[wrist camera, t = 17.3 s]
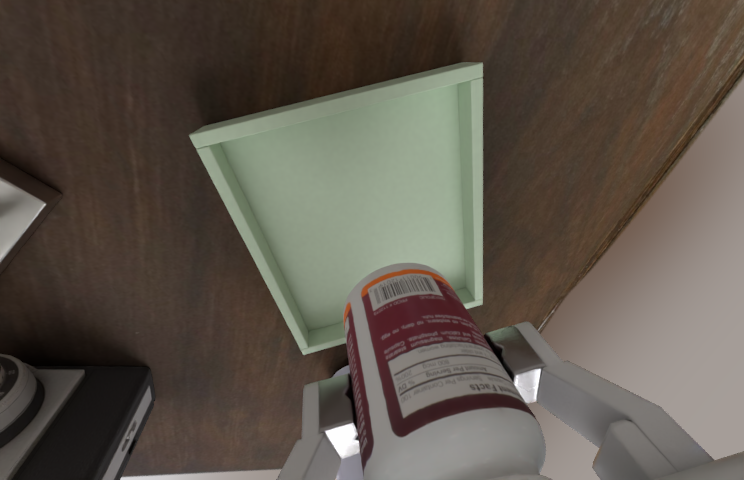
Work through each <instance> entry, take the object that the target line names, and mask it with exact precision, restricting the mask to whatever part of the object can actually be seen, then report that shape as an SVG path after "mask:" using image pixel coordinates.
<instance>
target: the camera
mask: <svg viewBox="0 0 744 480" xmlns="http://www.w3.org/2000/svg"><path fill="white" fill-rule="evenodd" d="M153 401H155V392H154V386H153V380H152V375H151V371H150V369H149V368H147V367H102V366H30V365H28V364H26V363H22V362H21V361H20V360H19V359H17V358H15V357H13V356H11V355H4V354H0V480H120V478H121V476H122V474H123V472H124V470H125V467H126V465H127V463H128V461H129V459H130V457H131V454H132V452H133V450H134V448H135V446H136V443H137V441H138V439H139V437H140V435H141V433H142V430H143V428H144V426H145V424H146V422H147V420H148V417H149V415H150V413H151V411H152V409H153V406H154V402H153Z"/></svg>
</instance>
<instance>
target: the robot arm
mask: <svg viewBox="0 0 744 480" xmlns="http://www.w3.org/2000/svg"><path fill="white" fill-rule="evenodd" d="M484 338H485V340H486V341H487V343H488V345H489V346H490V347H491V349H492V351H493V352H494V354H495V355H496V357H497V358H498V360H499V361H500V363H501V365H502V366H503V368H504V369H505V371H506V372H507V374H508V376H509V377H510V379H511V380H512V382H513V383H514V385H515V387H516V388H517V390H518V391H519V393H520V394H521V396H522V398H523V399H524V401H525V402H526V404H528V403H531V402H535V401H537V403H538V404H539V405H541V406H542V407H544V408H545V409H546V410H548V411H549V412H550V413H552V414H553V415H554V416H556V417H557V418H559V419H560V420H561V421H563V422H564V423H565V424H567V425H568V426H570V427H571V428H572V429H574V430H575V431H577V432H578V433H579V434H581V435H582V436H583V437H585V438H586V439H587V440H589V441H590V442H592V443H593V444H594V445H596V446H597V447H599V451H598V453H597V455H596V457H595V459H594V461H593V467H592V468H593V469H594V471H595V472H596V474H597V475H598V477H599V478H600V480H744V451H743V452H740V453H737V454H734V455H731V456H727V457H724V458H721V459H718V460H714V459H713V458H712V457H711V456H710V455H709V454H708V453H707V452H706V451H705V450H704V449H703V448H702V447H701V446H699V444H698V443H697V442H696V441H694V440H693V438H691V436H690V435H689V434H687V433H686V432H685V431H684V430H683V429H682V428H681V427H680V426H679V425H678V424H677V423H676V422H675V421H674V420H673V419H672V418H671V417H670V416H669V415H668V414H667V413H666V412H665V411H664V410H663V409H662V408H661V407H660V406H658V405H656V404H654V403H652V402H650V401H648V400H645V399H644V398H642V397H640V396H638V395H636V394H633V393H631V392H630V391H628V390H626V389H623V388H622V387H620V386H618V385H616V384H614V383H611V382H610V381H608V380H606V379H603V378H601V377H599V376H598V375H596V374H593V373H592V372H590V371H588V370H586V369H583V368H581V367H580V366H578V365H576V364H574V363H571V362H569V361H564V362H563V361H562V360H561V359H560V357H559V356H558V355H557V354H556V352H555V351H554V350H553V349H552V348H551V347H550V345H549V344H548V343H547V342H546V341H545V340H544V338H543V337H542V336H541V335H540V334H539V332H538V331H537V330H536V329H535V328H534V327H533V325H532V324H531V323H529V322H523V323H520V324H516V325H513V326H508V327H505V328H502V329H498V330H495V331H492V332H489V333H485V335H484ZM359 453H360V448H359V438H358V431H357V423H356V415H355V407H354V399H353V392H352V383H351V376H350V374H349V373H348V374H344V375H340V376H337V377H333V378H329V379H326V380H322V381H318V382H314V383H311V384H307V385H305V386H304V390H303V415H302V439H299V440H297V442H296V444H295V446H294V447H293V449H292V451H291V453H290V455H289V457H288V459H287V461H286V463H285V465H284V466H283V468H282V470H281V472H280V474H279V476H278V478H277V480H335V479H336V476H337V473H338V470H339V467H340V464H341V459H344V458H347V457H350V456H353V455H356V454H359Z"/></svg>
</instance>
